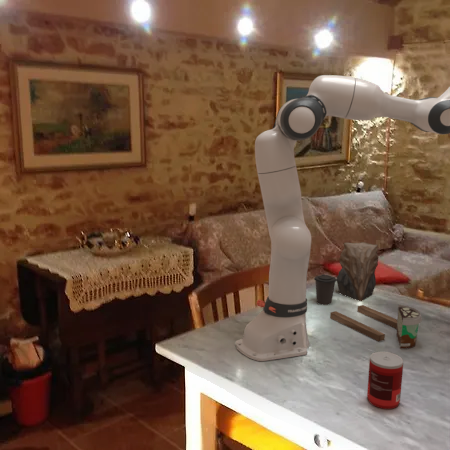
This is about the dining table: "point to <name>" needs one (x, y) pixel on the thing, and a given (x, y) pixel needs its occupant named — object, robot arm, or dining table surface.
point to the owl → (358, 270)
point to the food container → (407, 326)
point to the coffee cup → (324, 288)
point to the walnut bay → (362, 327)
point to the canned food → (385, 379)
